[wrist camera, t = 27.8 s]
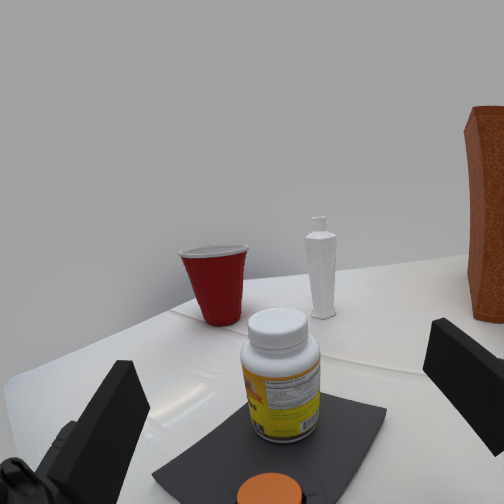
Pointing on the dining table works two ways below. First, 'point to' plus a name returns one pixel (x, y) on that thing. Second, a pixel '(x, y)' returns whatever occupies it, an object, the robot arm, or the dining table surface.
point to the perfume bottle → (321, 267)
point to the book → (486, 211)
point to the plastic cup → (217, 280)
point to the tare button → (270, 490)
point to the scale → (276, 456)
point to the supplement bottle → (281, 374)
